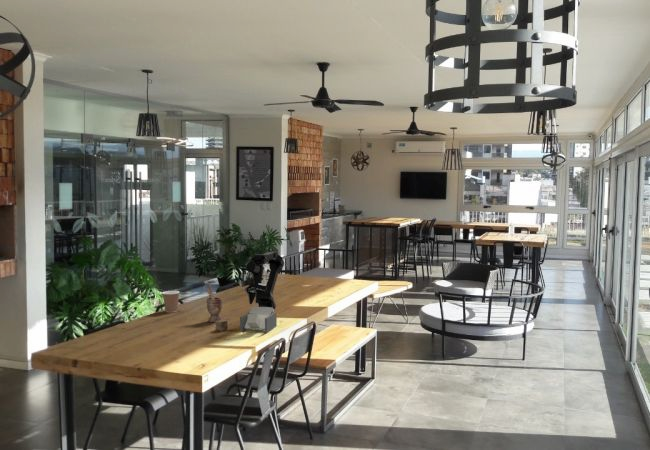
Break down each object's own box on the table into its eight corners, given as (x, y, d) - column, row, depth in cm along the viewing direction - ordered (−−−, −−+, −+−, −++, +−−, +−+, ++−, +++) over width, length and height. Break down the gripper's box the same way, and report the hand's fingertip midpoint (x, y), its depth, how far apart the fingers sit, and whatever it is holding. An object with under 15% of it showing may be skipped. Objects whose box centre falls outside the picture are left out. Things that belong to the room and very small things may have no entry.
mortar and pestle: (199, 321, 360) (199, 286, 358) (209, 318, 367) (208, 284, 366) (216, 323, 354) (215, 288, 353) (225, 320, 362) (224, 286, 360)
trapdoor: (253, 309, 349) (252, 305, 347) (273, 310, 346) (272, 306, 344) (245, 331, 338) (244, 327, 336) (266, 332, 335) (265, 328, 333)
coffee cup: (182, 309, 392) (181, 290, 391) (176, 313, 382) (176, 293, 381) (166, 309, 393) (165, 290, 392) (160, 313, 383) (159, 293, 382)
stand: (222, 328, 342) (222, 319, 341) (227, 329, 339) (227, 320, 338) (215, 330, 338) (215, 320, 338) (221, 331, 335) (220, 322, 335)
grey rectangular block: (251, 319, 337) (247, 314, 332) (260, 319, 336) (256, 313, 331) (250, 328, 335) (246, 322, 329) (259, 327, 334) (256, 322, 328)
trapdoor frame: (251, 324, 350) (250, 310, 349) (276, 326, 346) (276, 311, 346) (240, 331, 334) (240, 317, 333) (266, 333, 330) (266, 318, 330)
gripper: (238, 275, 354) (234, 302, 350) (249, 271, 338) (245, 300, 334) (256, 278, 358) (252, 305, 354) (268, 275, 342) (265, 303, 338)
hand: (253, 303), depth 345 cm, fingers open, 9 cm apart
